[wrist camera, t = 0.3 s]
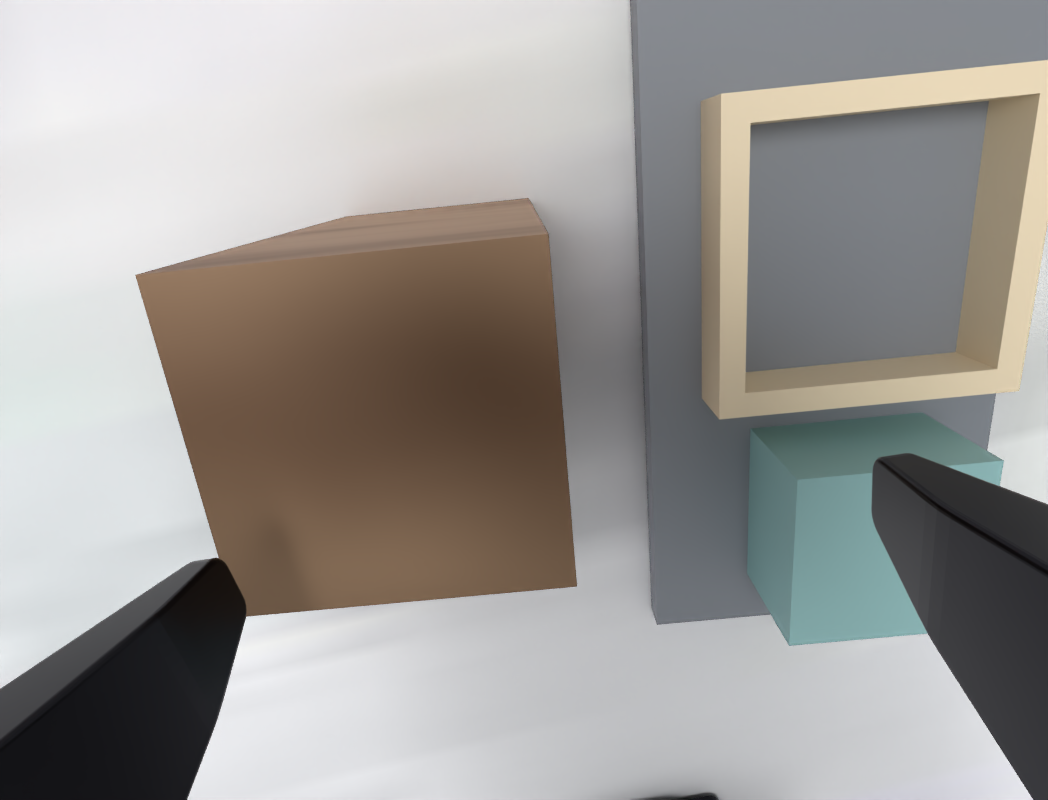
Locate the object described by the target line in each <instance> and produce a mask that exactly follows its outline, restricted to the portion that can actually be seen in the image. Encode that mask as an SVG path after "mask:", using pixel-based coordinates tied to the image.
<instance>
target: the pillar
mask: <svg viewBox="0 0 1048 800" xmlns="http://www.w3.org/2000/svg"><path fill="white" fill-rule="evenodd" d="M136 279H137V282H138V286H139V289H140V292H141V296H142V299H143V303H144V306H145V309H146V313H147V316H148V319H149V323H150V326H151V330H152V333H153V336H154V340H155V343H156V347H157V350H158V353H159V357H160V360H161V363H162V367H163V370H164V374H165V377H166V380H167V384H168V387H169V391H170V394H171V397H172V401H173V404H174V407H175V411H176V414H177V418H178V421H179V424H180V428H181V431H182V435H183V438H184V441H185V445H186V448H187V452H188V455H189V458H190V462H191V465H192V468H193V472H194V475H195V479H196V482H197V485H198V489H199V492H200V496H201V499H202V502H203V506H204V509H205V512H206V516H207V519H208V523H209V526H210V529H211V533H212V536H213V540H214V543H215V546H216V550H217V553H218V556H219V559H221V560H223V561H224V562H225V563H226V564H227V566H228V568H229V570H230V572H231V573H232V575H233V577H234V579H235V581H236V583H237V585H238V587H239V589H240V591H241V593H242V595H243V597H244V599H245V602H246V609H247V612H246V616H257V615H268V614H279V613H290V612H301V611H312V610H323V609H334V608H345V607H356V606H367V605H378V604H389V603H400V602H411V601H422V600H433V599H444V598H455V597H466V596H477V595H488V594H499V593H510V592H521V591H532V590H543V589H554V588H565V587H576V586H577V581H576V569H575V557H574V544H573V532H572V520H571V507H570V495H569V483H568V470H567V458H566V445H565V433H564V421H563V408H562V396H561V384H560V371H559V359H558V347H557V334H556V322H555V310H554V297H553V285H552V273H551V260H550V248H549V235H548V232H547V230H546V229H545V227H544V225H543V223H542V221H541V220H540V218H539V216H538V214H537V213H536V211H535V209H534V207H533V205H532V204H531V202H530V200H529V198H526V199H516V200H506V201H496V202H486V203H477V204H467V205H457V206H447V207H437V208H427V209H417V210H407V211H397V212H387V213H378V214H368V215H358V216H348V217H343V218H339V219H336V220H332V221H328V222H325V223H321V224H318V225H314V226H310V227H307V228H303V229H300V230H296V231H292V232H289V233H285V234H282V235H278V236H274V237H271V238H267V239H264V240H260V241H256V242H253V243H249V244H246V245H242V246H238V247H235V248H231V249H228V250H224V251H220V252H217V253H213V254H209V255H206V256H202V257H199V258H195V259H191V260H188V261H184V262H181V263H177V264H173V265H170V266H166V267H163V268H159V269H155V270H152V271H148V272H145V273H141V274H137V275H136Z"/></svg>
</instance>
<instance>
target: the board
mask: <svg viewBox="0 0 1048 800" xmlns="http://www.w3.org/2000/svg"><path fill="white" fill-rule="evenodd" d="M630 4H631V32H632V60H633V89H634V117H635V145H636V173H637V202H638V230H639V258H640V286H641V314H642V343H643V371H644V399H645V427H646V456H647V484H648V512H649V540H650V568H651V597H652V610H653V613H654V617H655V620H656V623H657V625H658V624H669V623H680V622H691V621H702V620H713V619H725V618H736V617H747V616H758V615H769V614H771V615H772V617H773V619H774V621H775V622H776V624H777V626H778V627H779V629H780V631H781V633H782V634H783V636H784V638H785V640H786V641H787V643H788V645H789V646H792V645H803V644H814V643H826V642H837V641H848V640H859V639H871V638H882V637H893V636H904V635H916V634H927V631H926V630H925V628H924V626H923V624H922V622H921V620H920V618H919V616H918V614H917V612H916V610H915V608H914V606H913V604H912V602H911V600H910V598H909V596H908V594H907V592H906V590H905V588H904V586H903V584H902V582H901V579H900V577H899V575H898V573H897V571H896V569H895V567H894V565H893V563H892V561H891V559H890V557H889V555H888V553H887V551H886V549H885V547H884V545H883V543H882V541H881V539H880V537H879V535H878V533H877V530H876V528H875V525H874V523H873V518H872V512H871V505H872V471H873V465H874V462H875V461H876V460H877V459H878V458H879V457H883V456H890V455H896V454H903V453H912V454H915V455H918V456H921V457H923V458H926V459H928V460H931V461H934V462H936V463H939V464H942V465H944V466H947V467H950V468H952V469H955V470H958V471H960V472H963V473H966V474H968V475H971V476H974V477H976V478H979V479H982V480H984V481H987V482H990V483H992V484H995V485H998V486H1000V480H1001V474H1002V468H1003V462H1004V461H1003V460H1002V459H1000V458H998V457H997V456H995V455H993V454H992V453H990V452H988V451H987V447H988V441H989V435H990V428H991V422H992V415H993V409H994V403H995V396H996V393H1004V392H1015V391H1019V389H1020V383H1021V377H1022V371H1023V365H1024V359H1025V353H1026V348H1027V342H1028V336H1029V330H1030V324H1031V318H1032V312H1033V306H1034V300H1035V295H1036V289H1037V283H1038V277H1039V271H1040V265H1041V259H1042V253H1043V247H1044V242H1045V236H1046V230H1047V224H1048V0H630Z"/></svg>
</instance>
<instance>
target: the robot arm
mask: <svg viewBox="0 0 1048 800" xmlns="http://www.w3.org/2000/svg"><path fill="white" fill-rule="evenodd" d="M871 512H872V518H873V523H874V525H875V528H876V530H877V533H878V535H879V537H880V539H881V541H882V543H883V545H884V547H885V549H886V551H887V553H888V555H889V557H890V559H891V561H892V563H893V565H894V567H895V569H896V571H897V573H898V575H899V577H900V579H901V582H902V584H903V586H904V588H905V590H906V592H907V594H908V596H909V598H910V600H911V602H912V604H913V606H914V608H915V610H916V612H917V614H918V616H919V618H920V620H921V622H922V624H923V626H924V628H925V630H926V631H927V633H928V635H929V636H930V638H931V640H932V641H933V643H934V645H935V646H936V648H937V650H938V651H939V653H940V654H941V656H942V658H943V659H944V661H945V662H946V664H947V665H948V667H949V669H950V670H951V672H952V673H953V675H954V676H955V678H956V679H957V681H958V683H959V684H960V686H961V687H962V689H963V690H964V692H965V694H966V695H967V697H968V698H969V700H970V701H971V703H972V704H973V706H974V708H975V709H976V711H977V712H978V714H979V715H980V717H981V719H982V720H983V722H984V723H985V725H986V726H987V728H988V730H989V731H990V733H991V734H992V736H993V737H994V739H995V740H996V742H997V744H998V745H999V747H1000V748H1001V750H1002V751H1003V753H1004V755H1005V756H1006V758H1007V759H1008V761H1009V762H1010V764H1011V765H1012V767H1013V769H1014V770H1015V772H1016V773H1017V775H1018V776H1019V778H1020V780H1021V781H1022V783H1023V784H1024V786H1025V787H1026V789H1027V790H1028V792H1029V794H1030V795H1031V797H1032V798H1033V800H1048V504H1045V503H1043V502H1040V501H1037V500H1035V499H1032V498H1029V497H1027V496H1024V495H1021V494H1019V493H1016V492H1013V491H1011V490H1008V489H1005V488H1003V487H1000V486H998V485H995V484H992V483H990V482H987V481H984V480H982V479H979V478H976V477H974V476H971V475H968V474H966V473H963V472H960V471H958V470H955V469H952V468H950V467H947V466H944V465H942V464H939V463H936V462H934V461H931V460H928V459H926V458H923V457H921V456H918V455H915V454H912V453H903V454H896V455H890V456H883V457H879V458H878V459H877V460H876V461H875V462H874V465H873V471H872V505H871ZM246 612H247V609H246V602H245V599H244V597H243V595H242V593H241V591H240V589H239V587H238V585H237V583H236V581H235V579H234V577H233V575H232V573H231V572H230V570H229V568H228V566H227V564H226V563H225V562H224V561H223V560H221V559H219V558H212V559H205V560H198V561H193V562H190V563H189V564H187V565H185V566H184V567H182V568H181V569H179V570H178V571H176V572H175V573H173V574H172V575H170V576H169V577H167V578H166V579H164V580H163V581H161V582H160V583H158V584H157V585H155V586H154V587H152V588H151V589H149V590H148V591H146V592H145V593H143V594H142V595H140V596H139V597H137V598H136V599H134V600H133V601H131V602H130V603H128V604H127V605H125V606H124V607H122V608H121V609H119V610H118V611H116V612H115V613H113V614H112V615H110V616H109V617H107V618H106V619H104V620H103V621H101V622H100V623H98V624H97V625H95V626H94V627H92V628H91V629H89V630H88V631H86V632H85V633H83V634H82V635H80V636H79V637H77V638H76V639H74V640H73V641H71V642H70V643H68V644H67V645H65V646H64V647H62V648H61V649H59V650H58V651H56V652H55V653H53V654H52V655H50V656H49V657H47V658H46V659H44V660H43V661H41V662H40V663H38V664H37V665H35V666H34V667H32V668H31V669H29V670H28V671H26V672H25V673H23V674H22V675H20V676H19V677H17V678H16V679H14V680H13V681H11V682H10V683H8V684H7V685H5V686H4V687H2V688H1V689H0V800H187V798H188V796H189V793H190V791H191V788H192V785H193V783H194V780H195V777H196V775H197V772H198V770H199V767H200V764H201V762H202V759H203V757H204V754H205V751H206V749H207V746H208V743H209V741H210V738H211V736H212V733H213V730H214V727H215V724H216V722H217V719H218V716H219V712H220V709H221V706H222V702H223V699H224V696H225V692H226V688H227V685H228V681H229V677H230V674H231V670H232V666H233V663H234V659H235V656H236V652H237V648H238V645H239V641H240V637H241V634H242V630H243V626H244V623H245V619H246ZM688 800H718V799H717V798H716V797H714V796H705V797H699V798H694V799H688Z"/></svg>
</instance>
